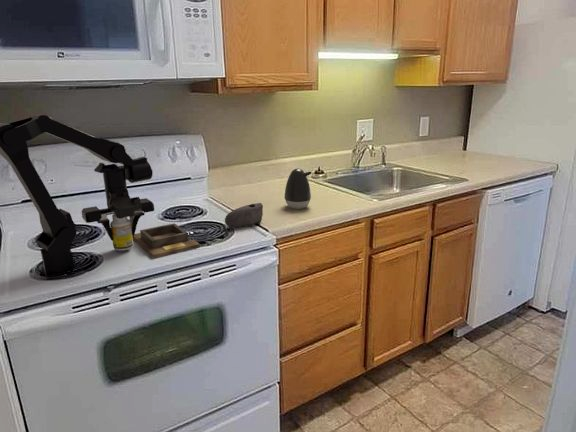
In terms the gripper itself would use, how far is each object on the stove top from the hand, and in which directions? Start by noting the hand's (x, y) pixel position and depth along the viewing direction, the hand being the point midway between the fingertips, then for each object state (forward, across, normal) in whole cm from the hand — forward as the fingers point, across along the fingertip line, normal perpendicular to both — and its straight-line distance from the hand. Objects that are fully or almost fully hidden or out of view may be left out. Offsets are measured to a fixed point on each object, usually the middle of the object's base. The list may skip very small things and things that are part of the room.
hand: (122, 237), depth 125 cm
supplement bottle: (+3, 0, 0) cm, 3 cm away
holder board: (+4, +12, -1) cm, 13 cm away
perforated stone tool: (+4, +40, -2) cm, 40 cm away
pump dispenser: (+4, +67, +4) cm, 67 cm away
